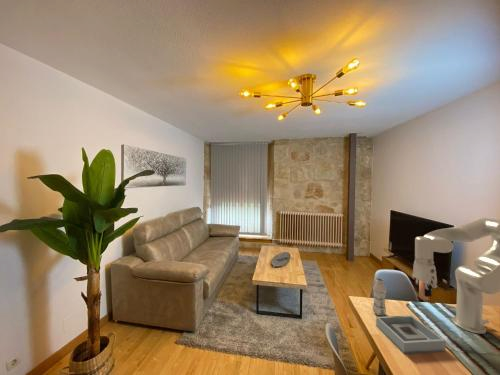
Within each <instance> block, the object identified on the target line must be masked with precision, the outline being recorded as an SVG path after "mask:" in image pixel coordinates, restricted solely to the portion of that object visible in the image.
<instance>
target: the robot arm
mask: <svg viewBox="0 0 500 375" xmlns="http://www.w3.org/2000/svg"><path fill="white" fill-rule="evenodd" d="M489 236H491V244H490V246H489V247H488V248H487V249H485V250H484V251H483V252H481V253H480V254H479V255H477V257H475V259H473V265H474V267H472V266H470V265H460V266H458V267H457V268H456V269H455V271H454V275H455V281H456V289H457V290H456V312H455V313H456V314H455V315H456V316H453V317H452V318H451V320H452V322H453V324H454V325H455V326H457V327H459V328H461V329H463V330H464V331H468V332H469V333H474V334H477V335H478V334H479V335H480V334H481V335H482V334H483V335H484V334H486V333H487V328H486V327H485V326H484V325H486V324H490V320H489V319H487V318H483V308H484V306H483V304H484V295H483V293H484V294H485V295H486V294H487V295H489V296H491V295H492V296H493V295H496V294H499V293H500V219H494V218H488V217H487V218H486V217H485V218H484V217H483V218H479V219H476V220H474V221H471V222H468V223H465V224H463V225H461V226H456V227H455V226H454V227H447V228H440V229H436V230H432V231H430V232H428V233H426V234H424V235H423V236H421V235H420V236H416V237H415V238H414V261H413V266H412V267H413V268H412V274H411V276H412V278H413V279H414V282H415V284H416V292H417V293H419V280H421V281H422V282H424V283H425V287H426V289H425V296H426V297H429V298H430V297H432V290H434V289H436V288H437V289H438V285H437V284H438V277H437V276H438V275H437V269H436V266H435V261H434V252H435V253H442V254H446V253H447V254H448V253H450V252H452V251H453V250H454V248H455V247H454V243H453V242H456V243H457V242H459V243H472V242H474V241H477V240H478V241H479V240H481V239H483V238H486V237H489ZM428 285H429V286H428Z"/></svg>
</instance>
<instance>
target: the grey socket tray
mask: <svg viewBox="0 0 500 375" xmlns="http://www.w3.org/2000/svg"><path fill="white" fill-rule="evenodd" d="M375 319H376V320H375V324H376V325H375V327H377V329H378V330H379V331H380V332H381V333H382V334H383V335H384V336H385V338H387V339H388V340H389V341H390V343H392V344H393V345H394V346H395V347H396V348H397V349H398V350H399V351H400V352H401V353H402V354H403V355H408V354H409V355H410V354H423V353H424V354H425V353H442V352H446V340H445V339H444V338H443V337H441V336H440V335H438V334H437V333H436V332H435V331H433V330H432V329H431V328H429V327H428V326H427V325H425V324H424V323H423V322H421V321H420V320H418V319H417V318H416V317H415V316H413V315H412V314H411V315H391V316H390V315H389V316H376V318H375Z"/></svg>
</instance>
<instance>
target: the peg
mask: <svg viewBox="0 0 500 375" xmlns="http://www.w3.org/2000/svg"><path fill="white" fill-rule="evenodd" d="M428 286H429V285H428ZM425 289H426V287H425V283H424V282H422V281H421V280H419V292H418V298H419V299H421V300H424V301H429V298H430V297H426V296H425Z"/></svg>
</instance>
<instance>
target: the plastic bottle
mask: <svg viewBox="0 0 500 375" xmlns="http://www.w3.org/2000/svg"><path fill="white" fill-rule="evenodd" d="M384 284H385V282H384V279H383V278H376V280H375V283H374V285H373V286H372V290H373V303H372V311H373V313H374V314H376V315H378V316H380V317H384V316H385V315H386V313H387V307H386V302H385V301H386V294H387V288H386V286H385V285H384Z"/></svg>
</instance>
